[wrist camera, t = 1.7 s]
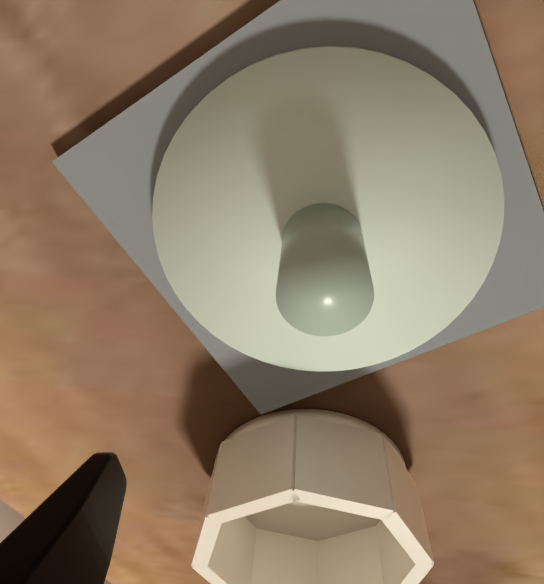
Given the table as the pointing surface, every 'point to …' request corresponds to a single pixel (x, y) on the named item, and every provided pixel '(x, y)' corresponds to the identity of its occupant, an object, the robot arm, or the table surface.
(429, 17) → the mat
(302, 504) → the bowl
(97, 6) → the table surface
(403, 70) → the lid
